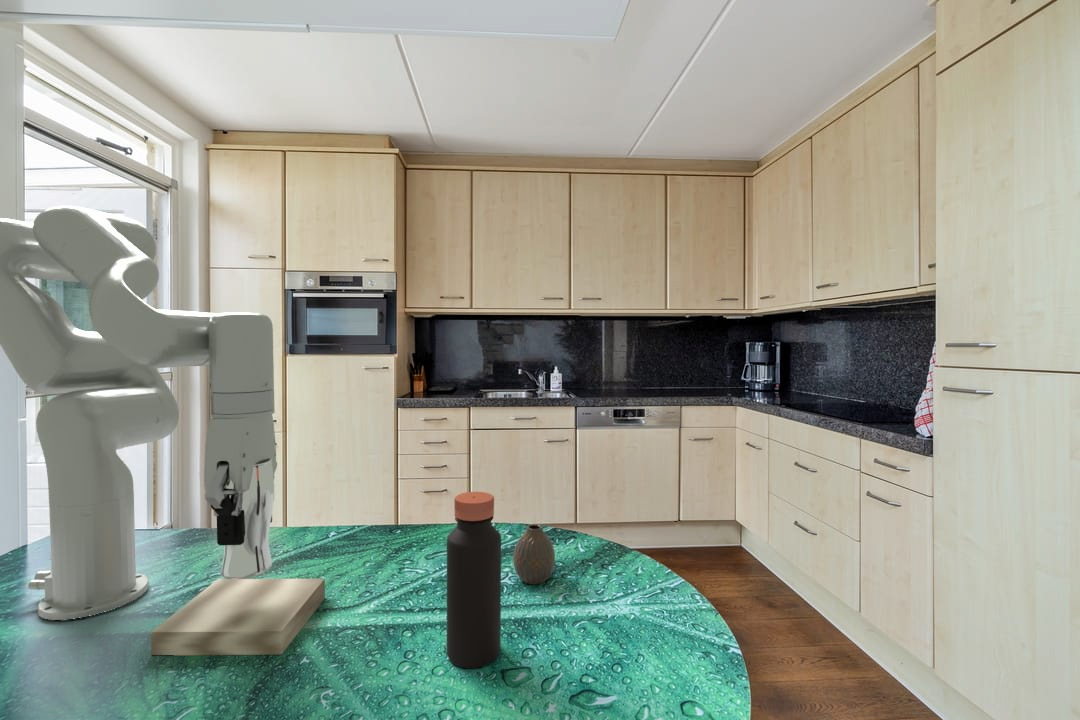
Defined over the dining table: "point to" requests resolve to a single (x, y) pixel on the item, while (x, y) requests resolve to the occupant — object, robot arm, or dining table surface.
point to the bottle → (473, 583)
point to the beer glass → (252, 526)
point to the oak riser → (240, 618)
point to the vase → (534, 555)
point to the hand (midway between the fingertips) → (246, 532)
